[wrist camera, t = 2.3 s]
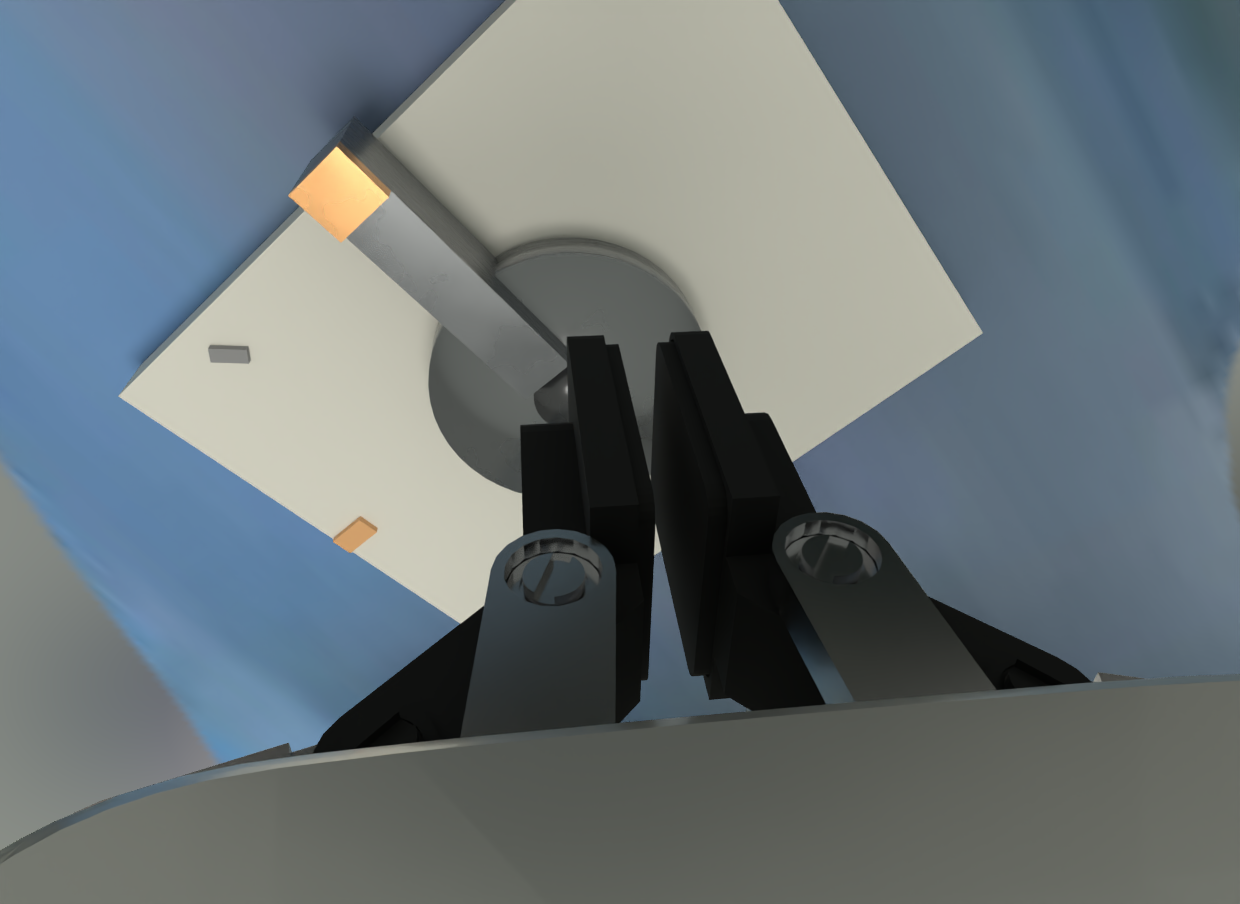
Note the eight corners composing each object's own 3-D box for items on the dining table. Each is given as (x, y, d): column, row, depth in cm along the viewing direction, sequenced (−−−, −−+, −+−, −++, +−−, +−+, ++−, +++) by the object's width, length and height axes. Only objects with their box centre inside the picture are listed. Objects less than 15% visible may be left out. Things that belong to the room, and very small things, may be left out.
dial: (752, 372, 35) (775, 420, 32) (558, 513, 38) (562, 569, 35) (448, 19, 26) (441, 40, 23) (229, 242, 29) (198, 286, 26)
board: (957, 307, 38) (986, 336, 35) (507, 619, 46) (507, 659, 44) (665, -160, 26) (680, -162, 24) (140, 364, 35) (115, 400, 32)
